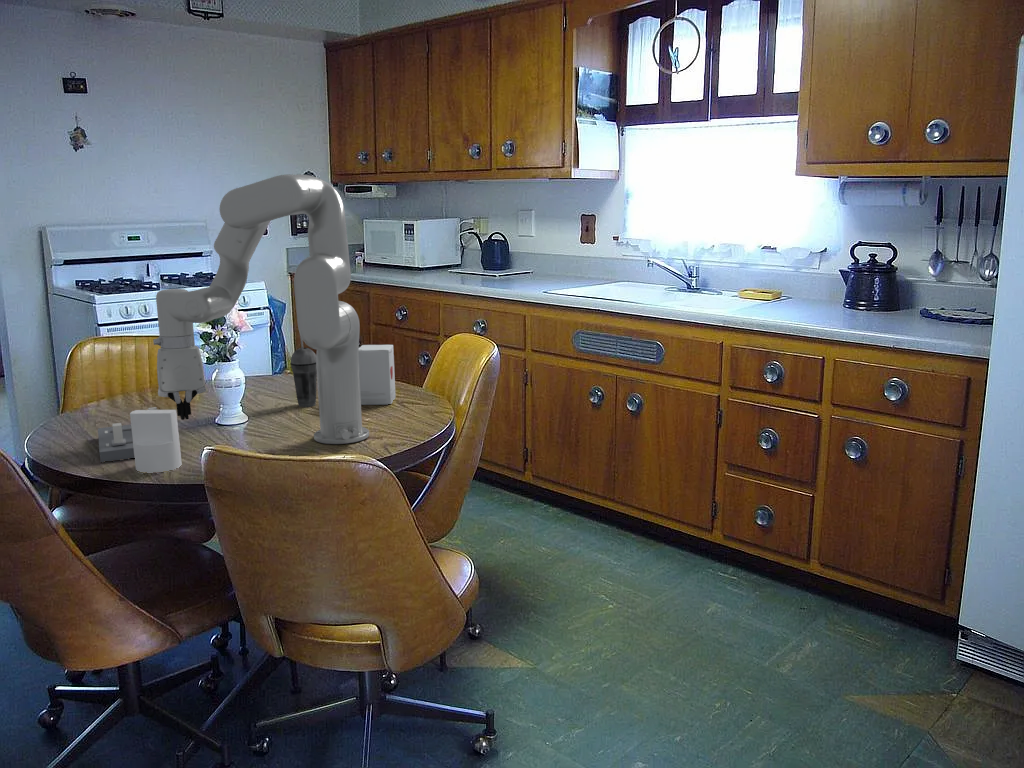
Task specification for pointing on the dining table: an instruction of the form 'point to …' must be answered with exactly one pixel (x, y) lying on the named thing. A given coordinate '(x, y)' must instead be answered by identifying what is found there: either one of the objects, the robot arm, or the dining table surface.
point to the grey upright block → (155, 440)
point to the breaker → (118, 435)
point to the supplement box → (376, 374)
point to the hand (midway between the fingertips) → (184, 418)
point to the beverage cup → (304, 375)
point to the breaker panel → (116, 451)
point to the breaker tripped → (152, 408)
